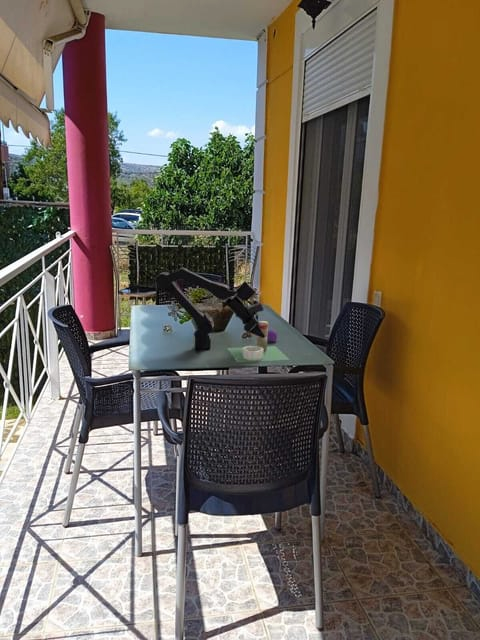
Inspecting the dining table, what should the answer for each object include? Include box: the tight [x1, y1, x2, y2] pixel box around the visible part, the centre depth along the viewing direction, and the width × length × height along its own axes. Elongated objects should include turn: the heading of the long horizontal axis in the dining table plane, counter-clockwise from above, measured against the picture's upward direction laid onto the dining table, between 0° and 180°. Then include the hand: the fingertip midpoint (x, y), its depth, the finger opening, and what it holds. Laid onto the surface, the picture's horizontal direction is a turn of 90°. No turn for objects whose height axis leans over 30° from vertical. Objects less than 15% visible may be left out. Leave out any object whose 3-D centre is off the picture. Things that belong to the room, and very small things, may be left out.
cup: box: [242, 345, 264, 360], centre depth 192 cm, size 8×8×4 cm
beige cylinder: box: [256, 320, 269, 352], centre depth 200 cm, size 4×4×12 cm
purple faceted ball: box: [267, 329, 278, 343], centre depth 223 cm, size 6×6×20 cm
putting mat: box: [227, 345, 291, 363], centre depth 196 cm, size 22×19×1 cm
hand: (264, 334), depth 200 cm, fingers open, 9 cm apart
